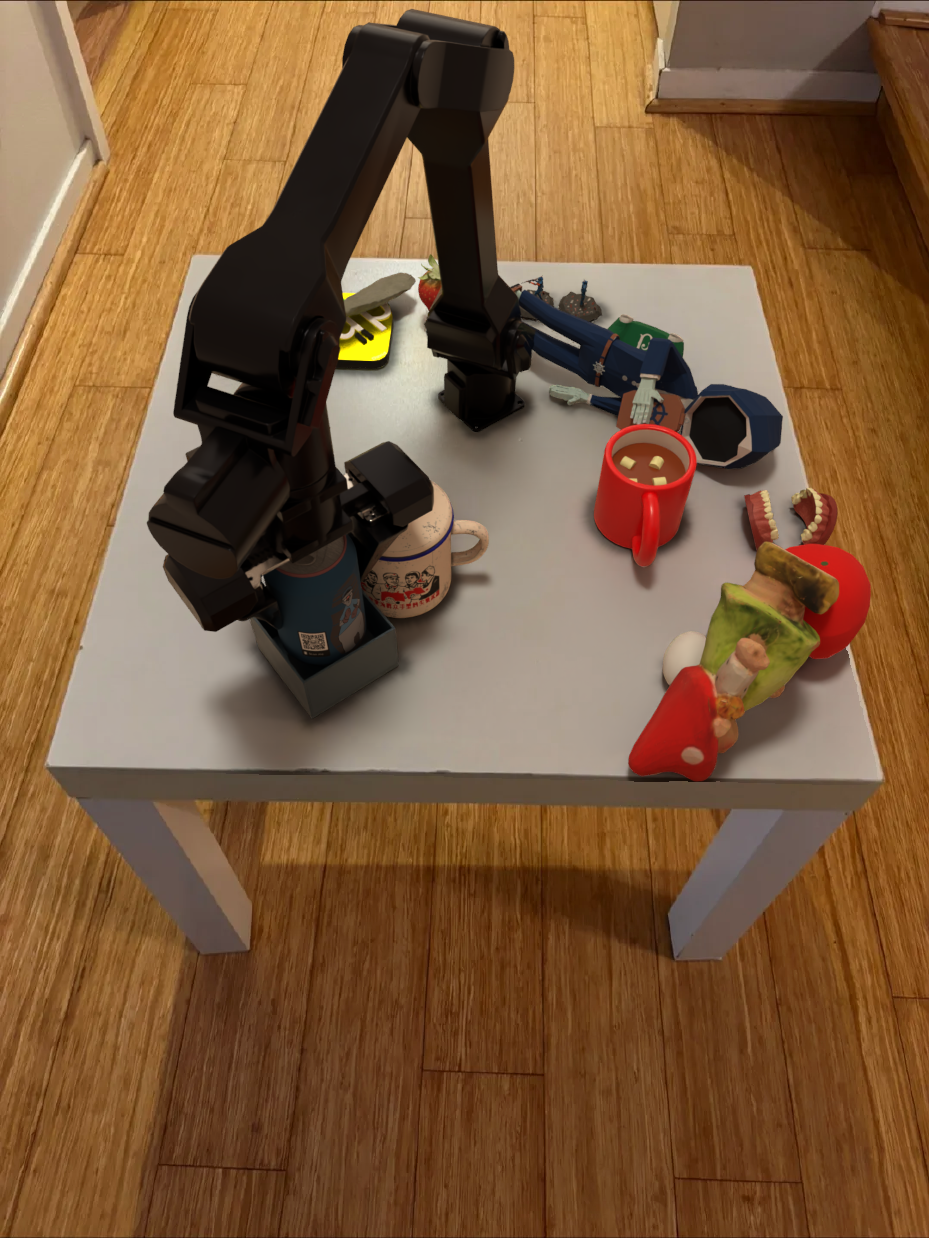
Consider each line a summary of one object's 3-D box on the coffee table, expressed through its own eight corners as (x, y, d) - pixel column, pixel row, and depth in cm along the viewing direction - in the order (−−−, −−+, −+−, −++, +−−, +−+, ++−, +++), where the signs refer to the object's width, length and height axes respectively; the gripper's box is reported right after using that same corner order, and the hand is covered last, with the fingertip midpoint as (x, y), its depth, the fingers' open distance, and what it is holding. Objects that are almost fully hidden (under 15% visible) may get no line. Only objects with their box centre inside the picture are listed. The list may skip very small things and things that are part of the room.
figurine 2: (872, 601, 73) (723, 817, 77) (775, 546, 78) (639, 752, 81) (841, 574, 64) (673, 820, 68) (733, 513, 68) (581, 746, 72)
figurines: (603, 295, 108) (609, 265, 104) (601, 328, 106) (607, 298, 102) (512, 287, 108) (515, 256, 104) (509, 319, 106) (512, 289, 102)
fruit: (425, 305, 107) (423, 240, 100) (473, 311, 106) (474, 246, 100) (414, 335, 104) (411, 270, 97) (463, 342, 103) (464, 277, 97)
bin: (343, 599, 84) (336, 560, 80) (398, 665, 81) (395, 628, 76) (258, 648, 82) (246, 610, 77) (311, 719, 78) (303, 683, 73)
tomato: (814, 619, 72) (806, 697, 78) (910, 558, 75) (896, 638, 81) (724, 562, 78) (722, 638, 84) (815, 508, 82) (809, 585, 87)
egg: (715, 653, 82) (726, 627, 78) (695, 711, 78) (706, 686, 75) (671, 638, 82) (679, 611, 79) (650, 694, 79) (658, 669, 76)
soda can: (287, 600, 81) (263, 504, 71) (371, 602, 81) (359, 506, 71) (275, 672, 77) (248, 580, 67) (363, 674, 77) (349, 583, 67)
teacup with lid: (348, 624, 83) (334, 536, 73) (351, 541, 88) (338, 448, 79) (489, 619, 83) (494, 531, 74) (484, 537, 89) (487, 445, 79)
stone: (425, 297, 105) (399, 284, 108) (422, 279, 104) (397, 266, 107) (322, 335, 100) (299, 320, 103) (319, 316, 99) (295, 302, 102)
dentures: (744, 474, 87) (833, 476, 88) (732, 504, 91) (818, 505, 91) (754, 524, 84) (846, 525, 85) (741, 553, 88) (829, 554, 88)
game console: (214, 365, 101) (211, 354, 100) (231, 297, 107) (229, 286, 106) (388, 369, 101) (388, 358, 100) (395, 301, 107) (395, 289, 106)
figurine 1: (473, 275, 89) (761, 434, 80) (550, 226, 96) (824, 367, 87) (459, 378, 98) (716, 531, 89) (530, 326, 105) (776, 464, 96)
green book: (671, 399, 102) (696, 344, 100) (664, 394, 98) (690, 337, 97) (592, 367, 104) (616, 313, 103) (583, 361, 101) (607, 305, 99)
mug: (599, 586, 85) (611, 527, 79) (591, 483, 92) (601, 422, 86) (690, 587, 85) (709, 529, 79) (674, 484, 92) (691, 423, 86)
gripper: (343, 332, 69) (361, 484, 82) (96, 447, 62) (158, 592, 75) (436, 423, 64) (440, 569, 77) (178, 558, 57) (229, 692, 70)
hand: (317, 601), depth 75 cm, fingers closed on soda can, 7 cm apart
